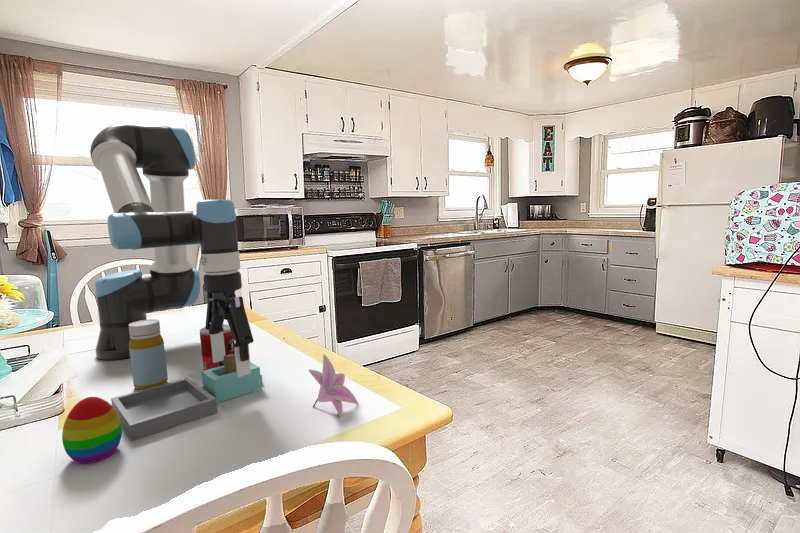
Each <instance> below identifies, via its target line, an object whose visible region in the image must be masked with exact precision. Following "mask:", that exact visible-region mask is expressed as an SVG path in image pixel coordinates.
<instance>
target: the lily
mask: <svg viewBox="0 0 800 533" xmlns="http://www.w3.org/2000/svg"><path fill="white" fill-rule="evenodd" d="M322 359H323V360H322V370H321V371H322V372H321V371H319V370H315V369H308V372H309V374H310V375H311V376H312V378H314V380H315V381H316V382H317V383H318V384H319V386H320V387H319V390H318V394H317V398H316V400H315V402H314V404H313V405H312V408H313V409H314V408H315V407H316V405H317V403H318V402H319V403H328V402H331V404H332V405H333V407H334V408H335V410H336V412H337V415H339V417H340V418H342V417H343V402H345V403H350V404H353V405H357V404H358V403H359V402H358V399H357V398H356V396H355V395H354V394H353V392H352V391H351V390H350V389H349V388H348V387H347V386H345V380H346V377H345V374H344V373H340V372H339V373H336V369H335V367H334V365H333V363H332V362H331V361H330V359H329V358H328V356H327V355H326V354H323V356H322Z"/></svg>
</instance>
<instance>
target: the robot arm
mask: <svg viewBox="0 0 800 533" xmlns="http://www.w3.org/2000/svg"><path fill="white" fill-rule="evenodd" d="M194 148H195V147H194V145H193V141H192V138H191V136H190V134H189V133H188V131H187V130H186V129H184V128H183V127H180V126H174V125H169V124H166V125H165V124H163V125H162V124H147V123H146V124H145V123H131V122H120V123H119V122H117V123H115V124H110V125H109V126H107V127H104V129H102V130H101V131H100V132H98V133H97V134H96V136H95V137H94V138H93V140H92V143H91V144H90V150H89V152H90V158H91V161H92V164H93V166H94V167H95V169H96V170H98V171H99V172H100V174H101V177H102V180H103V183H104V186H105V189H106V192H107V195H108V197H109V201H110V204H111V207H112V209H113V213H112V214H110V215H108V216H107V228H108V229H107V232H108V236H109V241H110V245H111V247H113V249H115V250H141V249H152V248H153V250H154V251H153V252H154V261H153V263H151V264H150V266H149V273H143V271H142V270H141V269H130V270H124V271H123V270H122V271H119V272H114V273H111V274H107V275H103V276H102V277H100V278H99V277H98V279H97V280H96V281H95V283H94V290H95V294H94V296H95V297H94V298H96V302H97V312H98V320H99V328H100V329H99V333H98V334H99V335H98V339H97V342H96V347H95V356H96V359H98V360H101V361H102V360H103V361H114V360H115V361H116V360H125V359H129V358H130V352H129V342H130V339H131V338H130V333H129V324H130V323H133V322H136V321H141V320H148V318H147V314H148V313H149V314H150V313H156V312H162V311H167V310H168V311H170V310H175V309H183V308H186V307H191V306H192V307H193V305H195V304H196V303H197V302H198V300H199V296H200V293H201V280H200V278H201V276H200V273H199V271H198V270H197V269H196V268H194V267H193V264H192V263H191V262H190V261H189V260H188V256H187V254H188V253H187V246H189V245H191V246H192V245H200V255H201V258H200V259H198V260H199V263H200V264H201V266H202V272H203V273H205V274H204V276H203V287H204V292H206V293H207V294H206V296H207V297H206V299H207V305H206V315H205V316H206V318H205V327H206V330H209V333H210V334H211V335H210V338H211V348H212V358H213V362H214V363H216V362H220V361H223V360H224V356H225V345H224V335H223V332H221V331H224V329H223V327H222V326H223V324H224V321H225V320H226V321H227V325H229V327H230V330H231V332H232V335H233V337H234V341H235V343H234V345H233V347H234V348H235V359H236V369H237V376H238V377H241V376H244V375H248V374H251V366H250V362H251V356H250V347H249V345H250V344H253V342H254V337H253V334H252V329H251V327H250V323H249V320H248V316H247V313H246V309H245V302H244V298H243V296H236V291H239V290H241V289H242V287H243V283H242V282H243V281H242V273H241V272H240V271H239V270H240V269H241V260H240V259H241V258H240V250H239V239H238V230H237V229H238V228H237V214H236V209H235V204H234V202H233V200H230V199H202V200H199V201H197V203H196V210H185V195H184V194H185V189H184V181H185V180H186V179H187V178H188V177H190V176H189V174H190V173H189V171H190V170H193V169H194V168H195V166H196V153H195V149H194ZM138 169H142V175H143V176H144V177H145V178H146V179H148V181H149V191H150V192H149V194H150V197H149V195H148V193H147V191H146V188H145V185H144V183H143V180H142V178H141V176H140V174H139V171H138ZM219 332H220V333H219Z"/></svg>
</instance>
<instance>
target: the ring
mask: <svg viewBox="0 0 800 533" xmlns="http://www.w3.org/2000/svg"><path fill="white" fill-rule="evenodd" d="M250 366H251V374H248V375H244V376H241V377H238V376H237V371H236V372H232V373H229V374H225V367H224V365H223V366H219V367H216V368H212V369H208V370H201V379H202V380H201V381H202V388H203V389H204V390H205V391H207V392H208V393H209V394H211V395H212V396H213V397H214V398H216V403H217V404H218V403H221V402H224V401H226V400H230V398H231V399H234V398H236V396H237V397H239V395H240V396H243V395H246V394H249V393H252V392H251V391H253V392H256V391H258V389H259V390H261V389H262V384H263V378H262V376H263V375H262V374H261V367H260V366H258V365H256V363H252V362H251V361H250ZM255 390H256V391H255ZM245 393H246V394H245ZM242 394H243V395H242ZM233 397H234V398H233Z"/></svg>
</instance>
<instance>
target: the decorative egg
mask: <svg viewBox="0 0 800 533" xmlns="http://www.w3.org/2000/svg"><path fill="white" fill-rule="evenodd" d="M61 433H62V435H61V440H62V445H63V449H64V452H66V454H67V456H68V457H69V458H70V459H72V460H73V461H74V462H75V463H78V464H92V463H95V462H98V461H101V460H102V461H103V459H106V458H108V457H110V456H111V455H112V454H113V453H114V452H115V451H116V450H117V448H118V447H119V445H120V443H121V439H122V435H123V434H122V433H123V426H122V424H121V420H120V417H119V415H118V413H117V411H116V410H115V409H114V407H113V406H112V403H110V402H108V401H107V400H105V399H103V398H100V397H97V396H87V397H85V398H83V399H81V400H79V401H78V402H77V403H76V404H75V405H74V406H73V407H72V408H71V409H70V411H69V413H68V415H67V416H66V418H65V421H64V423H63V428H62V432H61Z"/></svg>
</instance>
